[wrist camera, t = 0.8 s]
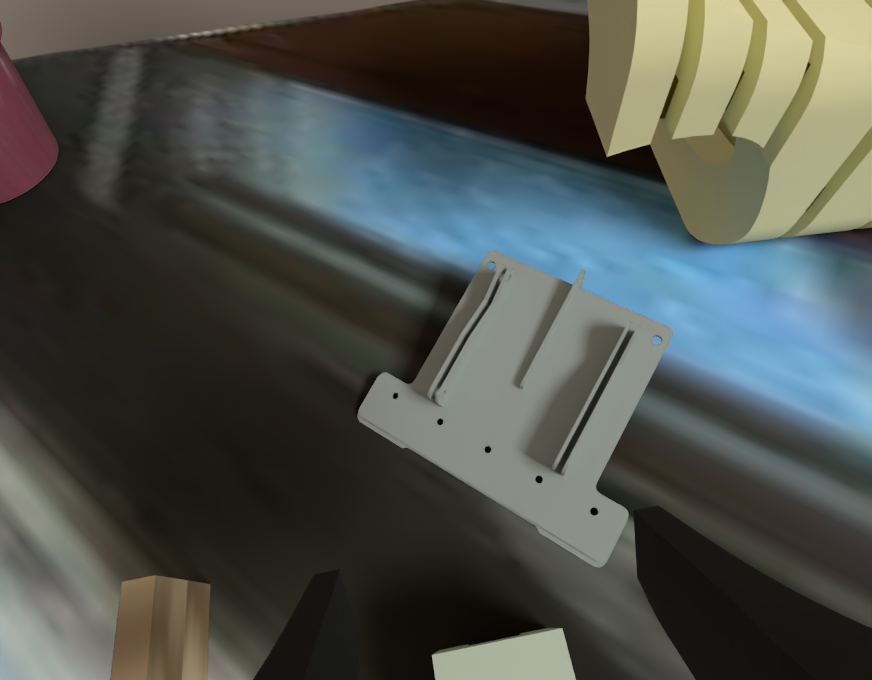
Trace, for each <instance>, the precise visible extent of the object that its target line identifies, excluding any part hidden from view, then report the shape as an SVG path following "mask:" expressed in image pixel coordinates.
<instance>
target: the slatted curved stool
mask: <svg viewBox="0 0 872 680" xmlns="http://www.w3.org/2000/svg"><path fill="white" fill-rule="evenodd" d="M587 4H588V14H589V32H590V48H589V68H588V80H587V89H586V101H587V104H588V106H589V109H590V112H591V115H592V117H593V120H594V123H595V126H596V128H597V131H598V134H599V137H600V139H601V142H602V145H603V148H604V150H605V153H606V156H607V157H608V156H611V155H614V154H618V153H621V152H624V151H627V150H630V149H634V148H638V147H641V146H645V145H649V144H650V146H651V148H652V150H653V153H654V155H655V157H656V160H657V162H658V164H659V167H660V169H661V171H662V174H663V176H664V178H665V180H666V183H667V185H668V187H669V190H670V192H671V194H672V197H673V199H674V201H675V204H676V206H677V208H678V211H679V213H680V215H681V218H682V220H683V222H684V225H685V227H686V229H687V230H688V232H689V233H690V234H691V235H692V236H694V237H695V238H696V239H698V240H700V241H702V242H705V243H709V244H715V245H721V244H733V243H742V242H750V241H759V240H768V239H774V238H777V237H794V236H803V235H811V234H820V233H829V232H838V231H846V230H852V229H862V228H872V0H587Z"/></svg>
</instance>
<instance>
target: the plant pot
mask: <svg viewBox="0 0 872 680" xmlns="http://www.w3.org/2000/svg"><path fill="white" fill-rule="evenodd" d="M1 36H2V27H1V23H0V40H1ZM58 153H59V147H58V143H57V141H56V139H55V137H54V135H53V134H52V132H51V130H50V129H49V127H48V125H47V123H46V122H45V120H44V118H43V116H42V115H41V113H40V111H39V109H38V107H37V106H36V104H35V102H34V100H33V98H32V97H31V95H30V93H29V91H28V89H27V88H26V86H25V84H24V82H23V81H22V79H21V77H20V75H19V73H18V72H17V70H16V68H15V66H14V65H13V63H12V61H11V59H10V58H9V56H8V54H7V52H6V51H5V49H4V47H3V46H2V44H1V42H0V204H1V203H4V202H7V201H9V200H11V199H14V198H16V197H18V196H20V195H21V194H23V193H25V192H27V191H28V190H30V189H31V188H33V187H34V186H35V185H37V184H38V183H39V182H40V181H41V180H42V179H43V178H44V177H45V176H46V175H47V174H48V173H49V172H50V171H51V169H52V168H53V166H54V165H55V163H56V160H57V157H58Z"/></svg>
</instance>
